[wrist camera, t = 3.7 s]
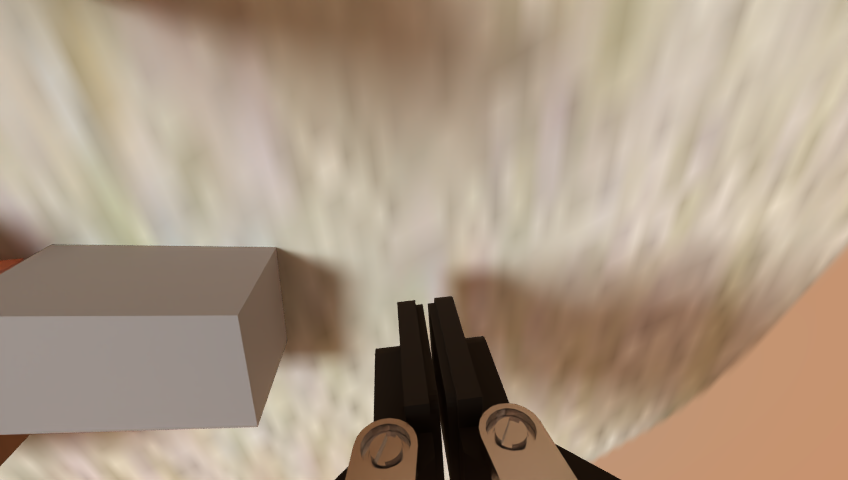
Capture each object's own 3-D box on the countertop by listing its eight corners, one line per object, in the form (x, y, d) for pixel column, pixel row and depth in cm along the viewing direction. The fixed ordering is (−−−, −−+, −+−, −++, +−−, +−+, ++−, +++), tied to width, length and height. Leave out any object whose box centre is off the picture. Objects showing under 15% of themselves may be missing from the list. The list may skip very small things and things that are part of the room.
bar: (277, 244, 14) (237, 315, 10) (288, 338, 15) (257, 426, 12) (55, 242, 13) (-74, 316, 9) (92, 340, 15) (-5, 435, 11)
